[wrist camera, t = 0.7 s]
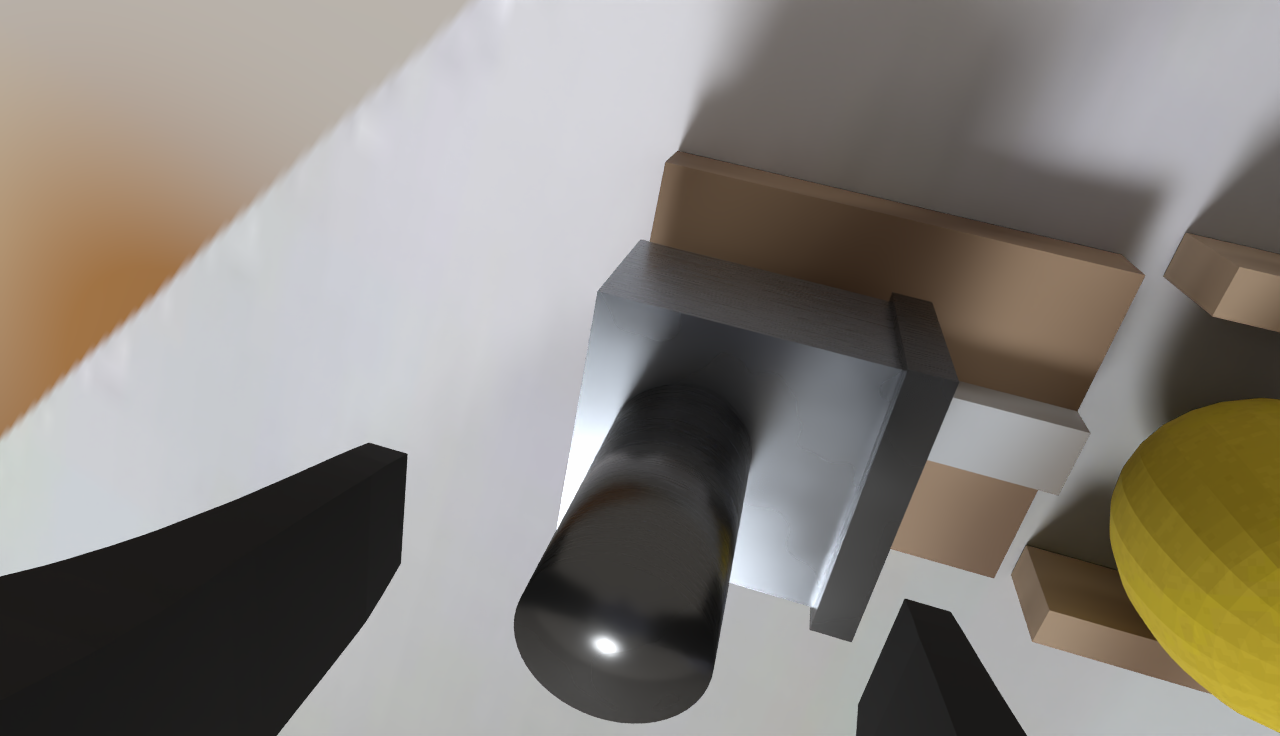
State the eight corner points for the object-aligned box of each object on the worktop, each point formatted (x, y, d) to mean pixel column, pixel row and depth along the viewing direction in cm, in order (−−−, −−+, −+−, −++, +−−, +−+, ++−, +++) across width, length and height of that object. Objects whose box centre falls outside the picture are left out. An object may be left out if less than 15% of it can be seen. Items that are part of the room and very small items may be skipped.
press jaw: (931, 302, 16) (1022, 567, 8) (847, 524, 18) (858, 883, 11) (642, 230, 16) (484, 415, 9) (599, 454, 19) (447, 744, 11)
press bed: (1120, 254, 17) (1163, 291, 15) (983, 541, 21) (1001, 605, 19) (677, 150, 18) (656, 170, 16) (618, 439, 22) (594, 488, 20)
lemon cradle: (1546, 314, 16) (1662, 365, 14) (1289, 653, 20) (1346, 733, 18) (1185, 232, 17) (1239, 267, 15) (1011, 574, 21) (1032, 641, 19)
